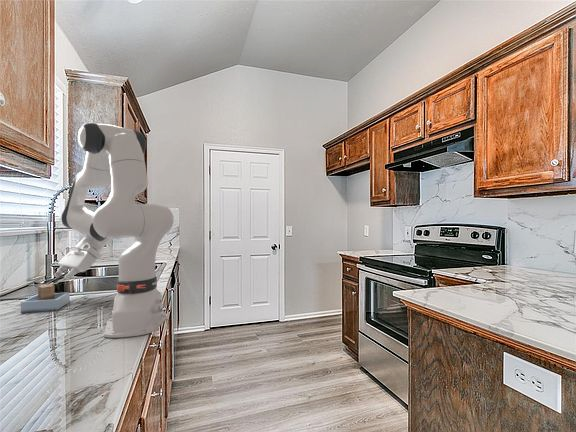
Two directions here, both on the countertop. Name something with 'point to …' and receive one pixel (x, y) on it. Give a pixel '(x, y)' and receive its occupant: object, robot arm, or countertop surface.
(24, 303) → the box
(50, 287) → the block
